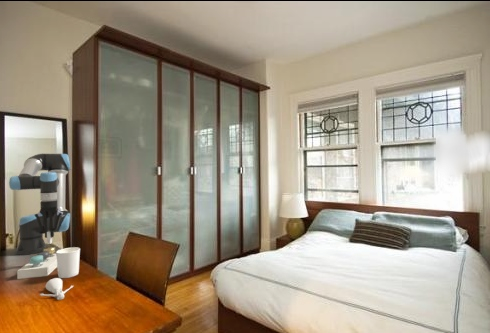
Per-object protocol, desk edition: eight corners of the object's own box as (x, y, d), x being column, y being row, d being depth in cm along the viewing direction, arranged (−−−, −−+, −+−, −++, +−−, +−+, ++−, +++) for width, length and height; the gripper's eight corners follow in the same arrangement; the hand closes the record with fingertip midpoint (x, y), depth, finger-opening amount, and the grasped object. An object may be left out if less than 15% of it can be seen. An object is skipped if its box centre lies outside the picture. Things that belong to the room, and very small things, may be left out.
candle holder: (85, 271, 136) (84, 247, 136) (70, 279, 127) (70, 253, 127) (66, 271, 137) (66, 247, 137) (51, 278, 128) (50, 253, 128)
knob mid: (39, 264, 143) (39, 251, 144) (51, 263, 145) (51, 250, 145) (35, 268, 138) (35, 254, 139) (47, 266, 140) (47, 253, 140)
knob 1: (32, 269, 136) (32, 255, 136) (45, 268, 137) (44, 254, 137) (27, 273, 131) (27, 259, 131) (40, 271, 132) (40, 257, 132)
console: (40, 262, 152) (40, 255, 152) (65, 259, 155) (64, 252, 155) (17, 279, 128) (17, 270, 128) (47, 275, 131) (47, 267, 132)
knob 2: (46, 259, 151) (45, 247, 151) (56, 258, 153) (56, 246, 153) (42, 262, 146) (41, 249, 146) (53, 261, 148) (53, 248, 148)
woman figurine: (68, 272, 123) (78, 287, 110) (68, 282, 123) (78, 298, 110) (36, 280, 115) (42, 297, 102) (36, 290, 115) (42, 308, 102)
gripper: (31, 201, 144) (32, 246, 144) (60, 200, 148) (60, 244, 148) (37, 200, 151) (38, 242, 152) (64, 199, 155) (65, 240, 155)
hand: (49, 243), depth 150 cm, fingers closed
